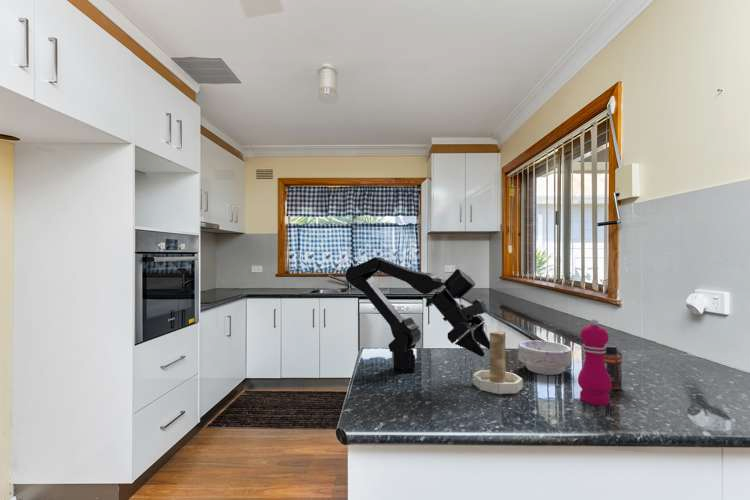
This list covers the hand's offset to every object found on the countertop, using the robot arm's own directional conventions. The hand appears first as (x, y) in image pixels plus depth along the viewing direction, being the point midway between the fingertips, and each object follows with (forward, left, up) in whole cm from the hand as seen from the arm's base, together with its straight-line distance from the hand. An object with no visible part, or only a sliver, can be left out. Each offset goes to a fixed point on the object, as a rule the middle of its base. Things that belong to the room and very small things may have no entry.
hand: (487, 352), depth 105 cm
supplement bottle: (+32, -6, -9) cm, 34 cm away
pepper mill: (+21, -15, -9) cm, 27 cm away
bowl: (+2, -2, -9) cm, 9 cm away
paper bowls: (+23, +10, -9) cm, 27 cm away
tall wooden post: (+2, -2, -8) cm, 9 cm away
